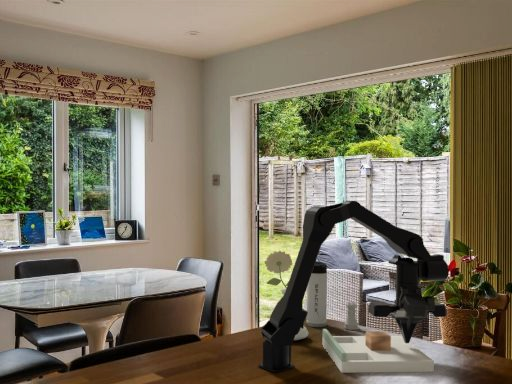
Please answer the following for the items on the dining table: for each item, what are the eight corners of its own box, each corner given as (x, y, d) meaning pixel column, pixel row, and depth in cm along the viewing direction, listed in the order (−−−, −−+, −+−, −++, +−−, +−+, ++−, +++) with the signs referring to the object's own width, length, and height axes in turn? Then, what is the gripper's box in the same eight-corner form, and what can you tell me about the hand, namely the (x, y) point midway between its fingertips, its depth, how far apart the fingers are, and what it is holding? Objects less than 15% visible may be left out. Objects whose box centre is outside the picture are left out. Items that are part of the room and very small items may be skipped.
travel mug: (314, 321, 179) (314, 260, 179) (330, 325, 174) (331, 262, 174) (301, 324, 174) (302, 261, 174) (317, 328, 170) (318, 263, 170)
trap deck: (341, 372, 128) (341, 353, 128) (322, 345, 151) (322, 328, 151) (433, 371, 129) (434, 352, 129) (400, 344, 152) (401, 328, 152)
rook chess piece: (348, 326, 173) (348, 300, 173) (361, 328, 171) (361, 302, 171) (341, 328, 170) (341, 302, 170) (353, 331, 167) (354, 304, 167)
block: (370, 350, 137) (371, 336, 137) (365, 345, 142) (365, 331, 142) (390, 350, 138) (390, 336, 138) (384, 344, 143) (384, 331, 143)
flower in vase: (311, 335, 162) (312, 249, 162) (305, 345, 150) (307, 253, 151) (267, 331, 165) (268, 248, 165) (259, 341, 153) (260, 252, 154)
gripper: (381, 287, 132) (380, 352, 132) (456, 287, 133) (455, 351, 133) (368, 279, 143) (367, 339, 143) (438, 280, 144) (437, 339, 144)
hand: (406, 342), depth 140 cm, fingers closed
